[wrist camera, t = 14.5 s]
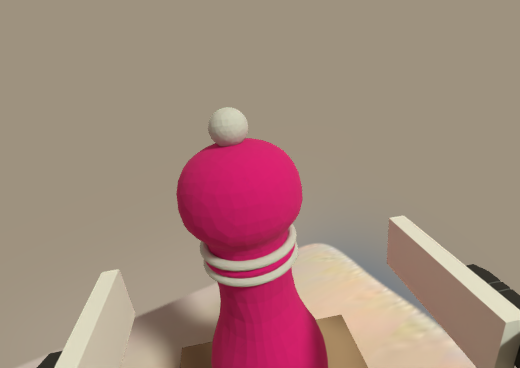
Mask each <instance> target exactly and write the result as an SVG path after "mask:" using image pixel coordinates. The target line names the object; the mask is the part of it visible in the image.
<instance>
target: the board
mask: <svg viewBox="0 0 520 368" xmlns="http://www.w3.org/2000/svg"><path fill="white" fill-rule="evenodd" d="M316 322H317V324H318V326H319V328H320V330H321V333H322V335H323V338H324V342H325V346H326V351H327V357H328V368H368V367H367V365H366V363H365V361H364V359H363V357H362V355H361V353H360V351H359V349H358V347H357V345H356V343H355V341H354V339H353V337H352V335H351V333H350V331H349V329H348V327H347V325H346V323H345V321H344V319H343V317H342V315H337V316H332V317H328V318H323V319H318V320H316ZM212 343H213V342H208V343H203V344H199V345H194V346H189V347H184V348H182V355H181V365H180V368H212V364H211V356H212Z"/></svg>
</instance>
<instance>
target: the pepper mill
mask: <svg viewBox="0 0 520 368" xmlns="http://www.w3.org/2000/svg"><path fill="white" fill-rule="evenodd" d="M208 131H209V134H210V136H211V138H212V139H213V141H214V142H216V143H215V144H213V145H211V146H208V147H206V148H205V149H203V150H201V151H200V152H198V153H197V154H196V155H195V156H193V157H192V158H191V159H190V160H189V161H188V163H187V164H186V165H185V167H184V168H183V170H182V173H181V175H180V178H179V180H178V187H177V201H178V210H179V213H180V216H181V218H182V221H183V223H184V225H185V227H186V228H187V230H188V231H189V232H190V233H192V234H193V235H194V236H195V237H196V238H198V239H199V240H201V243H200V252H201V255H202V256H203V258H204V267H205V270H206V272H207V273H208V275H209V276H210V277H211V278H212V279H214V280H215V281H217V282H218V285H219V289H220V298H221V306H220V315H219V319H218V323H217V326H216V330H215V334H214V338H213V343H212V356H211V364H212V368H328V357H327V351H326V346H325V342H324V338H323V335H322V333H321V330H320V328H319V326H318V324H317V322H316V320H315V318H314V317H313V316H312V314H311V313H310V312H309V310H308V309H307V308H306V307H305V305H304V304H303V302H302V300H301V299H300V297H299V295H298V293H297V290H296V288H295V284H294V280H293V276H292V269H291V267H292V265H293V264H294V263H295V261H296V259H297V255H298V246H297V243H296V230H295V228H294V226H293V225H292V223H293V221H294V220H295V219H296V217H297V216H298V214H299V211H300V207H301V203H302V186H301V182H300V177H299V173H298V171H297V169H296V167H295V165H294V163H293V161H292V160H291V159H290V157H289V156H288V155H287V154H286V153H285V152H284V151H283V150H281V149H280V148H279V147H277V146H275V145H273V144H271V143H269V142H266V141H263V140H257V139H251V138H245V137H246V135H247V132H248V123H247V120H246V118H245V116H244V115H243V114H242V113H241V112H240V111H239V110H237V109H234V108H230V107H228V108H222V109H219V110H217V111H216V112H215V113H214V114H213V115H212V117H211V118H210V120H209V126H208Z"/></svg>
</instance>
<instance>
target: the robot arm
mask: <svg viewBox="0 0 520 368" xmlns="http://www.w3.org/2000/svg"><path fill="white" fill-rule="evenodd" d="M387 264H388V265H389V266H390V267H391V268H392V270H393V271H394V272H395V273H396V274H397V275H398V277H399V278H400V279H401V280H402V281H403V282H404V284H405V285H406V286H407V287H408V288H409V289H410V291H411V292H412V293H413V294H414V295H415V296H416V298H417V299H418V300H419V301H420V302H421V303H422V304H423V306H424V307H425V308H426V309H427V310H428V311H429V313H430V314H431V315H432V316H433V317H434V318H435V320H436V321H437V322H438V323H439V324H440V325H441V326H442V328H443V329H444V330H445V331H446V332H447V333H448V335H449V336H450V337H451V338H452V339H453V340H454V342H455V343H456V344H457V345H458V346H459V347H460V349H461V350H462V351H463V352H464V353H465V354H466V355H467V357H468V358H469V359H470V360H471V361H472V362H473V364H474V365H475V366H476V367H477V368H514V366H516V367H517V368H520V295H518V294H517V293H516V292H515V291H513V290H511V289H510V288H509V287H508V286H507V285H505V284H504V283H503V282H500V280H499V279H498V278H497V277H495V276H494V275H493V274H491V273H490V272H489V271H487V270H485V269H483V268H480V267H478V266H476V265H474V264H472V265H467V266H465V265H464V264H463V263H461V262H460V261H459V260H458V259H457V258H455V257H454V256H453V255H452V254H450V253H449V252H448V251H447V250H446V249H444V248H443V247H442V246H441V245H439V244H438V243H437V242H436V241H434V240H433V239H432V238H431V237H430V236H428V235H427V234H426V233H425V232H423V231H422V230H421V229H420V228H418V227H417V226H416V225H415V224H414V223H412V222H411V221H410V220H409V219H407V218H406V217H405V216H398V217H393V218H389V230H388V249H387ZM135 315H136V313H135V311H134V308H133V305H132V303H131V300H130V297H129V294H128V292H127V289H126V286H125V284H124V281H123V278H122V275H121V273H120V270H119V269H117V270H112V271H106V272H102V273H101V275H100V277H99V279H98V281H97V283H96V285H95V287H94V289H93V291H92V293H91V295H90V297H89V299H88V301H87V304H86V305H85V307H84V310H83V311H82V313H81V315H80V318H79V320H78V321H77V323H76V325H75V327H74V329H73V331H72V333H71V336H70V337H69V339H68V341H67V344H66V345H65V347H64V349H63V351H60V352H55V353H50V354H49V355H48V356H47V357H46V358H45V359H44V360H43V361H42V363H41V364H40V365H39V366H38V367H37V368H120V367H121V364H122V360H123V357H124V353H125V350H126V346H127V343H128V339H129V336H130V332H131V329H132V325H133V322H134V318H135Z"/></svg>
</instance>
